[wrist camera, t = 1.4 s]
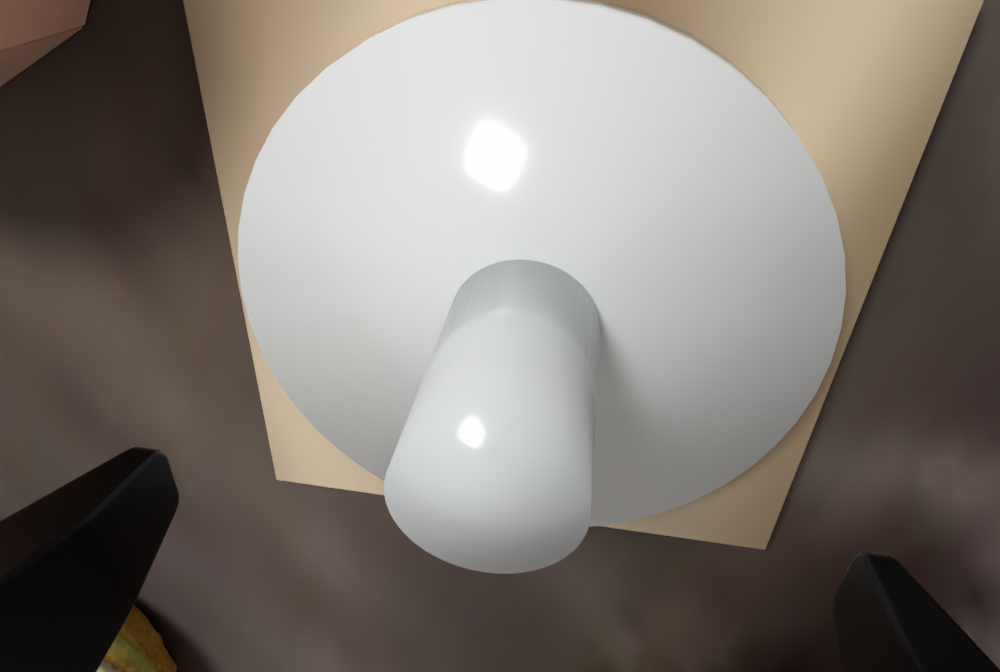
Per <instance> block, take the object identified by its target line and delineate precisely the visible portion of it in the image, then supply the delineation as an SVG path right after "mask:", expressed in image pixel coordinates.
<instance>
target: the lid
mask: <svg viewBox="0 0 1000 672" xmlns="http://www.w3.org/2000/svg"><path fill="white" fill-rule="evenodd" d="M238 266H239V274H240V282H241V290H242V296H243V299H244V303H245V307H246V311H247V314H248V318H249V322H250V325H251V328H252V330H253V333H254V335H255V337H256V340H257V342H258V345H259V347H260V349H261V352H262V354H263V356H264V358H265V360H266V361H267V363H268V365H269V367H270V369H271V370H272V372H273V374H274V376H275V377H276V379H277V381H278V383H279V384H280V385H281V387H282V388H283V389H284V391H285V392H286V394H287V395H288V396H289V398H290V399H291V400H292V402H293V403H294V405H295V406H296V407H297V408H298V410H299V411H300V412H301V413H302V414H303V415H304V416H305V417H306V418H307V420H308V421H309V422H310V423H311V424H312V425H313V426H314V427H315V428H316V429H317V431H319V432H320V433H321V434H322V435H323V436H324V437H325V438H326V439H327V440H329V441H330V442H331V443H332V444H333V445H334V446H335V447H336V448H337V449H339V450H340V451H341V452H342V453H343V454H345V455H346V456H348V457H349V458H350V459H352V460H353V461H354V462H356V463H357V464H358V465H360V466H361V467H362V468H364V469H365V470H367V471H368V472H370V473H372V474H373V475H375V476H377V477H378V478H380V479H382V480H383V481H384V495H385V501H386V504H387V507H388V510H389V512H390V514H391V516H392V518H393V520H394V521H395V522H396V524H397V525H398V527H399V528H400V529H401V530H402V531H403V532H404V534H405V535H406V536H407V537H408V538H410V539H411V540H412V541H413V542H414V543H415V544H417V545H418V546H419V547H421V548H422V549H424V550H425V551H427V552H428V553H430V554H432V555H433V556H435V557H437V558H439V559H441V560H444V561H446V562H448V563H451V564H454V565H456V566H459V567H463V568H466V569H470V570H475V571H480V572H487V573H498V574H511V573H523V572H529V571H534V570H538V569H542V568H545V567H547V566H550V565H552V564H554V563H556V562H558V561H560V560H562V559H564V558H565V557H566V556H568V555H569V554H571V553H572V552H573V551H574V550H575V549H576V548H577V547H578V546H579V544H580V543H581V542H582V540H583V539H584V537H585V535H586V533H587V531H588V528H589V527H591V526H604V525H610V524H615V523H621V522H627V521H632V520H637V519H641V518H644V517H648V516H651V515H655V514H659V513H662V512H666V511H668V510H671V509H674V508H676V507H679V506H681V505H684V504H686V503H689V502H691V501H694V500H696V499H698V498H700V497H702V496H704V495H706V494H708V493H710V492H712V491H714V490H716V489H718V488H719V487H721V486H723V485H725V484H726V483H728V482H729V481H731V480H732V479H734V478H735V477H737V476H738V475H740V474H741V473H743V472H744V471H746V470H747V469H749V468H750V467H752V466H753V465H754V464H755V463H756V462H757V461H758V460H760V459H761V458H762V457H763V456H764V455H765V454H767V453H768V452H769V451H770V450H771V449H772V448H773V447H775V446H776V445H777V444H778V442H779V441H780V440H781V439H782V438H783V437H784V436H785V435H786V433H787V432H788V431H789V430H790V429H791V428H792V427H793V426H794V424H795V423H796V422H797V421H798V420H799V418H800V417H801V415H802V414H803V412H804V411H805V409H806V408H807V406H808V405H809V403H810V402H811V400H812V399H813V397H814V396H815V394H816V393H817V391H818V389H819V386H820V384H821V382H822V380H823V378H824V376H825V374H826V372H827V370H828V368H829V366H830V363H831V361H832V358H833V354H834V351H835V348H836V344H837V341H838V338H839V334H840V331H841V327H842V319H843V312H844V304H845V296H846V275H845V253H844V248H843V243H842V238H841V233H840V228H839V223H838V218H837V214H836V212H835V209H834V207H833V204H832V201H831V199H830V196H829V193H828V191H827V188H826V186H825V183H824V180H823V178H822V176H821V174H820V172H819V171H818V169H817V167H816V165H815V164H814V162H813V160H812V159H811V157H810V155H809V153H808V152H807V150H806V148H805V147H804V145H803V143H802V141H801V140H800V138H799V137H798V135H797V133H796V132H795V130H794V129H793V127H792V125H791V124H790V122H789V121H788V120H787V119H786V117H785V116H784V115H783V114H782V113H781V111H780V110H779V109H778V108H777V106H776V105H775V104H774V103H773V102H772V100H771V99H770V98H769V97H768V95H767V94H766V93H765V92H764V91H763V89H762V88H761V87H759V86H758V85H757V84H756V83H755V82H754V81H753V80H752V79H750V78H749V77H748V76H747V75H746V74H745V73H744V72H743V71H742V70H740V69H739V68H738V67H737V66H736V65H735V64H734V63H733V62H731V61H730V60H729V59H728V58H726V57H725V56H723V55H722V54H720V53H719V52H717V51H716V50H714V49H713V48H711V47H710V46H708V45H706V44H705V43H703V42H702V41H700V40H699V39H697V38H696V37H694V36H693V35H691V34H690V33H688V32H685V31H683V30H681V29H679V28H677V27H674V26H672V25H670V24H668V23H666V22H664V21H661V20H659V19H657V18H655V17H653V16H651V15H648V14H646V13H643V12H639V11H636V10H632V9H629V8H626V7H622V6H619V5H615V4H612V3H609V2H605V1H602V0H459V1H456V2H453V3H449V4H446V5H443V6H440V7H436V8H433V9H430V10H427V11H423V12H420V13H417V14H415V15H413V16H410V17H408V18H406V19H404V20H402V21H400V22H398V23H396V24H394V25H392V26H390V27H388V28H386V29H384V30H381V31H379V32H377V33H376V34H374V35H373V36H372V37H370V38H369V39H367V40H366V41H364V42H363V43H361V44H360V45H358V46H357V47H356V48H354V49H353V50H351V51H350V52H348V53H347V54H345V55H344V56H343V57H341V58H340V59H338V60H337V61H335V62H334V63H332V64H331V65H330V66H328V67H327V68H326V69H325V70H323V71H322V72H321V73H320V74H319V75H318V76H317V77H316V78H315V79H314V80H313V81H312V82H311V83H310V84H309V85H308V86H307V87H306V88H305V89H304V90H303V91H301V92H300V93H299V94H298V95H297V96H296V98H295V99H294V100H293V102H292V103H291V104H290V106H289V107H288V108H287V110H286V111H285V112H284V113H283V115H282V116H281V117H280V119H279V120H278V121H277V123H276V124H275V125H274V127H273V128H272V130H271V132H270V134H269V136H268V138H267V140H266V142H265V144H264V145H263V147H262V149H261V151H260V153H259V155H258V157H257V159H256V161H255V164H254V167H253V170H252V173H251V176H250V179H249V181H248V184H247V187H246V190H245V193H244V199H243V204H242V210H241V216H240V222H239V228H238Z"/></svg>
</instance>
